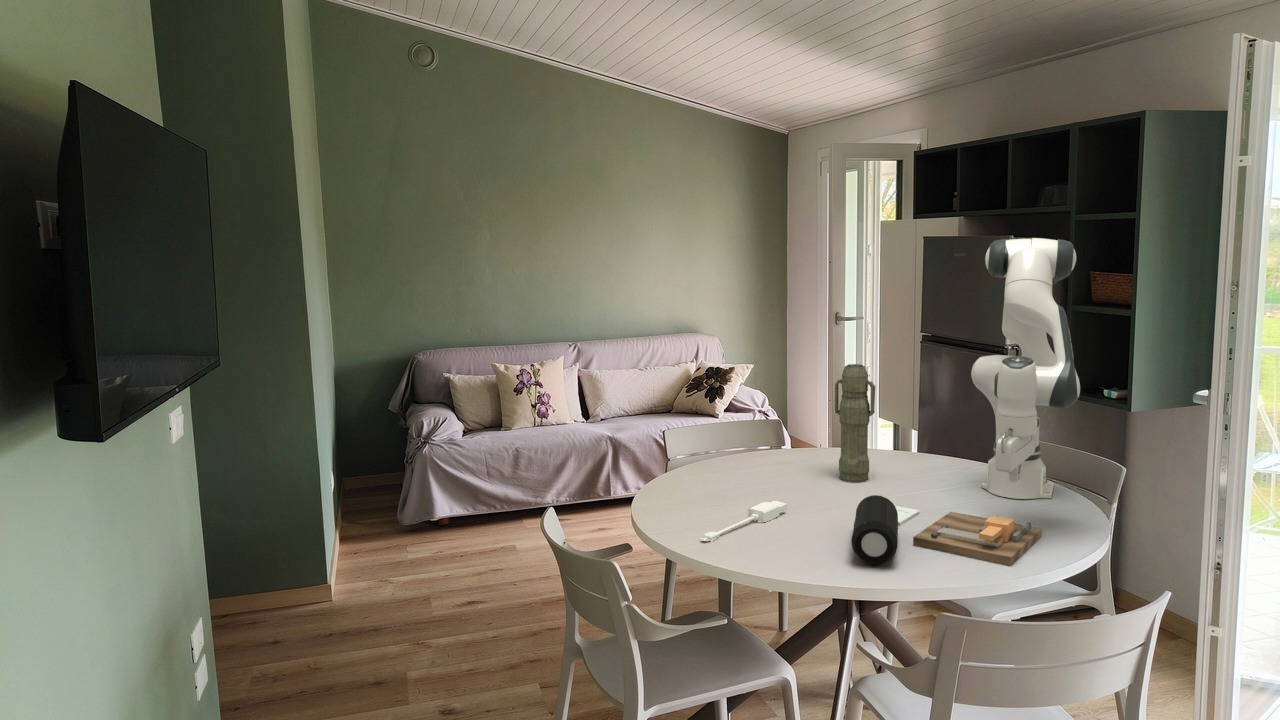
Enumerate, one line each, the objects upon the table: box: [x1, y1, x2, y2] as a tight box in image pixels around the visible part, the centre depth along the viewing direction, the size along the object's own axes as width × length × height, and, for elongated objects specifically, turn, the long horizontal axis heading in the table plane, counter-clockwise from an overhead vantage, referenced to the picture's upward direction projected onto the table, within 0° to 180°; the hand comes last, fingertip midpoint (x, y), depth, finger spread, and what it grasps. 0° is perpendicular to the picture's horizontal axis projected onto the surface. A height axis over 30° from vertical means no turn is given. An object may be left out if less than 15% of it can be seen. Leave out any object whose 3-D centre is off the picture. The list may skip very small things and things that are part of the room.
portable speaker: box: [850, 494, 899, 565], centre depth 195 cm, size 26×10×10 cm, turn 163°
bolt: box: [979, 515, 1015, 542], centre depth 192 cm, size 12×5×4 cm, turn 140°
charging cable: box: [700, 500, 788, 542], centre depth 213 cm, size 5×32×3 cm, turn 135°
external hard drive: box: [894, 505, 920, 527], centre depth 219 cm, size 2×8×12 cm
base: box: [912, 511, 1043, 567], centre depth 199 cm, size 24×22×4 cm
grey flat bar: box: [937, 527, 1004, 547], centre depth 195 cm, size 4×14×1 cm, turn 50°
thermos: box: [834, 363, 876, 484], centre depth 253 cm, size 9×12×35 cm
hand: (1015, 480), depth 203 cm, fingers closed
